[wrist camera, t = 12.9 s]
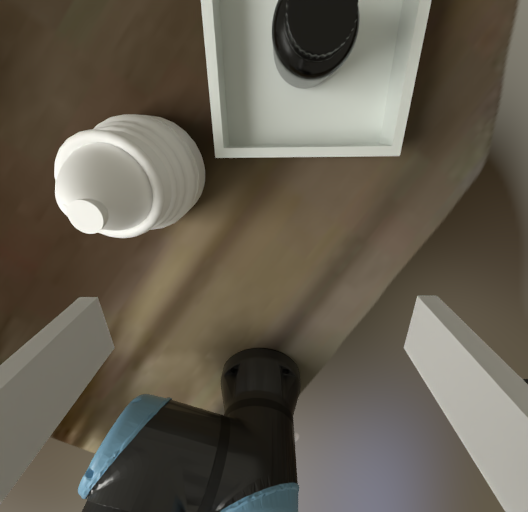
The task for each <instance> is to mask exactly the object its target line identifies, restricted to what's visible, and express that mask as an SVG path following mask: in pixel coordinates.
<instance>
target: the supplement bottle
mask: <svg viewBox="0 0 528 512" xmlns="http://www.w3.org/2000/svg"><path fill="white" fill-rule="evenodd" d="M359 22H360V14H359V6H358V0H278V2H277V4H276V7H275V11H274V15H273V21H272V44H273V54H274V61H275V65H276V68H277V70H278V72H279V74H280V75H281V77H282V78H283V79H284V80H285V81H286V82H287V83H288V84H290V85H291V86H293V87H296V88H301V89H307V88H312V87H315V86H317V85H319V84H320V83H322V82H323V81H325V80H326V79H327V78H328V77H330V76H331V75H332V74H333V73H334V72H335V71H337V70H338V69H339V68H340V67H341V66H342V65H343V64H344V62H345V61H346V60H347V58H348V57H349V55H350V53H351V52H352V50H353V47H354V45H355V42H356V39H357V35H358V31H359Z"/></svg>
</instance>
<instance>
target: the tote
mask: <svg viewBox="0 0 528 512" xmlns="http://www.w3.org/2000/svg"><path fill="white" fill-rule="evenodd" d="M277 2H278V0H201V7H202V18H203V29H204V40H205V51H206V62H207V73H208V84H209V95H210V106H211V117H212V127H213V138H214V149H215V158H262V157H354V156H400V153H401V148H402V143H403V138H404V133H405V128H406V123H407V118H408V114H409V109H410V104H411V99H412V94H413V89H414V84H415V79H416V74H417V69H418V64H419V59H420V54H421V50H422V45H423V40H424V35H425V30H426V25H427V20H428V15H429V10H430V5H431V0H358V6H359V14H360V22H359V31H358V35H357V39H356V42H355V45H354V47H353V50H352V52H351V53H350V55H349V57H348V58H347V60H346V61H345V62H344V64H343V65H342V66H341V67H340V68H339V69H338V70H337V71H335V72H334V73H333V74H332V75H331V76H330V77H328V78H327V79H326V80H325V81H323V82H322V83H320V84H319V85H317V86H315V87H312V88H307V89H301V88H296V87H293V86H291V85H290V84H288V83H287V82H286V81H285V80H284V79H283V78H282V77H281V75H280V74H279V72H278V70H277V68H276V65H275V61H274V54H273V44H272V21H273V15H274V11H275V7H276V4H277Z"/></svg>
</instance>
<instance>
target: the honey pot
mask: <svg viewBox="0 0 528 512" xmlns="http://www.w3.org/2000/svg"><path fill="white" fill-rule="evenodd" d="M54 176H55V180H56V183H55V197H56V201H57V203H58V205H59V207H60V209H61V210H62V211H63V213H64V214H66V215H67V216H68V218H69V220H70V222H71V223H72V225H73V226H74V227H75V228H77V229H78V230H80V231H82V232H84V233H88V234H94V233H97V232H98V233H101V234H104V235H107V236H110V237H117V238H129V237H136V236H138V235H141V234H143V233H145V232H147V231H148V230H151V229H159V228H164V227H166V226H169V225H171V224H173V223H175V222H177V221H178V220H179V219H180V218H182V217H183V216H184V215H185V214H186V213H187V212H188V211H189V210H190V209H191V208H192V207H193V206H194V205H195V204H196V202H197V201H198V199H199V198H200V196H201V194H202V191H203V188H204V184H205V167H204V163H203V158H202V155H201V153H200V151H199V149H198V147H197V145H196V143H195V142H194V141H193V140H192V138H191V137H190V136H189V135H188V134H187V132H186V131H184V130H183V129H182V128H180V127H179V126H178V125H176V124H175V123H174V122H171V121H169V120H166V119H164V118H162V117H157V116H149V115H132V114H125V115H119V116H114V117H110V118H108V119H107V120H105V121H103V122H101V123H100V124H98V125H96V127H95V128H94V129H92V130H86V131H81V132H78V133H77V134H75V135H73V136H71V137H70V138H68V139H67V140H66V141H65V142H64V144H63V145H62V146H61V147H60V148H59V151H58V154H57V157H56V160H55V172H54Z"/></svg>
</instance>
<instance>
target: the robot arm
mask: <svg viewBox="0 0 528 512" xmlns="http://www.w3.org/2000/svg"><path fill="white" fill-rule="evenodd" d="M113 349H114V345H113V342H112V339H111V336H110V333H109V330H108V327H107V324H106V321H105V318H104V315H103V312H102V309H101V306H100V303H99V300H98V297H79V298H78V299H77V300H76V301H75V302H74V303H72V304H71V305H70V306H69V307H68V308H67V309H65V310H64V311H63V312H62V313H61V314H60V315H58V316H57V317H56V318H55V319H54V320H53V321H51V322H50V323H49V324H48V325H47V326H46V327H44V328H43V329H42V330H41V331H40V332H39V333H37V334H36V335H35V336H34V337H33V338H32V339H30V340H29V341H28V342H27V343H26V344H25V345H23V346H22V347H21V348H20V349H19V350H18V351H16V352H15V353H14V354H13V355H12V356H11V357H9V358H8V359H7V360H6V361H5V362H4V363H2V364H1V365H0V504H1V503H2V501H3V500H4V499H5V497H6V496H7V495H8V493H9V492H10V490H11V489H12V488H13V486H14V485H15V483H16V482H17V481H18V479H19V478H20V477H21V475H22V474H23V473H24V471H25V470H26V468H27V467H28V465H29V464H30V463H31V462H32V460H33V459H34V457H35V456H36V455H37V453H38V452H39V450H40V449H41V448H42V446H43V445H44V444H45V442H46V441H47V440H48V438H49V437H50V436H51V434H52V433H53V431H54V430H55V429H56V427H57V426H58V425H59V423H60V422H61V420H62V419H63V418H64V416H65V415H66V414H67V412H68V411H69V409H70V408H71V407H72V405H73V404H74V403H75V401H76V400H77V398H78V397H79V396H80V394H81V393H82V392H83V390H84V389H85V388H86V386H87V385H88V383H89V382H90V381H91V379H92V378H93V377H94V375H95V374H96V372H97V371H98V370H99V368H100V367H101V366H102V364H103V363H104V361H105V360H106V359H107V357H108V356H109V355H110V353H111V352H112V350H113ZM404 349H405V351H406V352H407V354H408V356H409V357H410V359H411V360H412V362H413V364H414V365H415V367H416V368H417V370H418V372H419V373H420V375H421V376H422V378H423V380H424V381H425V383H426V384H427V386H428V388H429V389H430V391H431V393H432V394H433V396H434V398H435V399H436V401H437V402H438V404H439V406H440V407H441V409H442V410H443V412H444V414H445V415H446V417H447V418H448V420H449V422H450V423H451V425H452V426H453V428H454V430H455V431H456V433H457V434H458V436H459V438H460V439H461V441H462V443H463V444H464V446H465V447H466V449H467V451H468V452H469V454H470V456H471V457H472V459H473V460H474V462H475V464H476V465H477V467H478V468H479V470H480V472H481V473H482V475H483V477H484V478H485V480H486V481H487V483H488V485H489V486H490V488H491V489H492V491H493V493H494V494H495V496H496V497H497V499H498V501H499V502H500V504H501V505H502V507H503V509H504V510H505V512H528V379H522V378H521V377H520V376H519V375H517V374H516V373H515V372H514V371H513V370H512V369H511V368H510V367H509V366H508V365H507V364H506V363H505V362H504V361H503V360H502V359H501V358H500V357H499V356H498V355H497V354H496V353H495V352H494V351H493V350H492V349H491V348H490V347H489V346H488V345H487V344H486V343H485V342H484V341H483V340H482V339H481V338H479V336H478V335H477V334H476V333H474V332H473V331H472V330H471V329H470V328H469V327H468V326H467V325H466V324H465V323H464V322H463V321H462V320H461V319H460V318H459V317H458V316H457V315H456V314H455V313H454V312H453V311H452V310H451V309H450V308H449V307H448V306H447V305H446V304H445V303H444V302H443V301H441V299H440V298H439V297H438V296H417V299H416V303H415V307H414V311H413V315H412V319H411V322H410V326H409V330H408V334H407V338H406V341H405V346H404ZM221 390H222V397H223V404H224V411H225V413H224V416H223V415H220V414H217V413H213V412H210V411H207V410H203V409H200V408H197V407H193V406H190V405H187V404H183V403H180V402H177V401H173V400H172V398H162V397H158V396H154V395H150V394H143V395H140V396H138V397H136V398H135V399H133V400H132V401H131V402H130V403H129V404H128V406H127V407H126V408H125V409H124V411H123V412H122V413H121V415H120V416H119V418H118V419H117V420H116V422H115V423H114V425H113V426H112V428H111V429H110V431H109V433H108V434H107V436H106V437H105V439H104V440H103V442H102V444H101V445H100V447H99V449H98V450H97V452H96V454H95V456H94V457H93V459H92V461H91V463H90V466H89V467H88V469H87V471H86V473H85V475H84V476H83V478H82V480H81V482H80V485H79V487H78V493H79V495H81V497H82V498H83V499H86V498H87V497H88V499H87V502H86V504H85V506H84V509H83V510H82V512H298V491H299V485H298V483H297V468H296V454H295V438H294V425H293V415H294V411H295V407H296V403H297V400H298V396H299V392H300V374H299V370H298V368H297V366H296V364H295V363H294V362H293V361H292V360H291V359H290V358H289V357H287V356H286V355H284V354H282V353H280V352H277V351H274V350H270V349H261V348H257V349H248V350H244V351H241V352H239V353H237V354H235V355H234V356H232V357H231V358H230V359H229V360H228V361H227V362H226V363H225V365H224V368H223V371H222V376H221Z"/></svg>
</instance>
